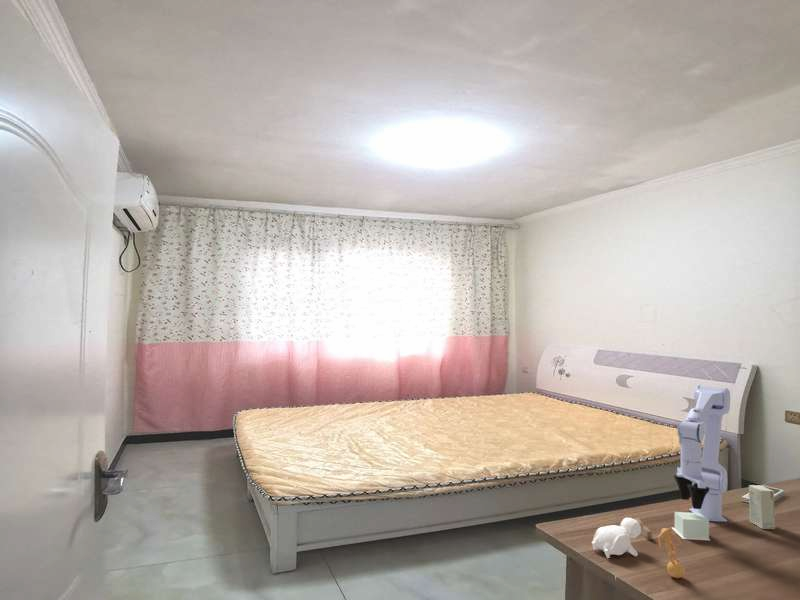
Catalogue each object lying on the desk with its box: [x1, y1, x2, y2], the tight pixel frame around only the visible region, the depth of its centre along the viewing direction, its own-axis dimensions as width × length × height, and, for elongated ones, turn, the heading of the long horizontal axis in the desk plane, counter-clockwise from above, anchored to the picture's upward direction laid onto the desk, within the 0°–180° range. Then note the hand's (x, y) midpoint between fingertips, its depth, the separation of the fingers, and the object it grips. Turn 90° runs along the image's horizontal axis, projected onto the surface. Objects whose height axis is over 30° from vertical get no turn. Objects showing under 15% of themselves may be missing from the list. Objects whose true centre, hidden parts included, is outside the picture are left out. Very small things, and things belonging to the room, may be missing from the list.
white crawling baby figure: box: [591, 517, 642, 559], centre depth 145 cm, size 9×8×15 cm
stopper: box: [632, 515, 653, 541], centre depth 159 cm, size 12×1×2 cm, turn 175°
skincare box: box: [748, 484, 776, 530], centre depth 165 cm, size 6×4×12 cm
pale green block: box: [674, 511, 710, 539], centre depth 157 cm, size 6×8×6 cm
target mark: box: [670, 526, 711, 541], centre depth 157 cm, size 8×8×1 cm
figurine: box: [657, 527, 685, 579], centre depth 132 cm, size 8×6×12 cm
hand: (690, 503), depth 157 cm, fingers open, 7 cm apart
